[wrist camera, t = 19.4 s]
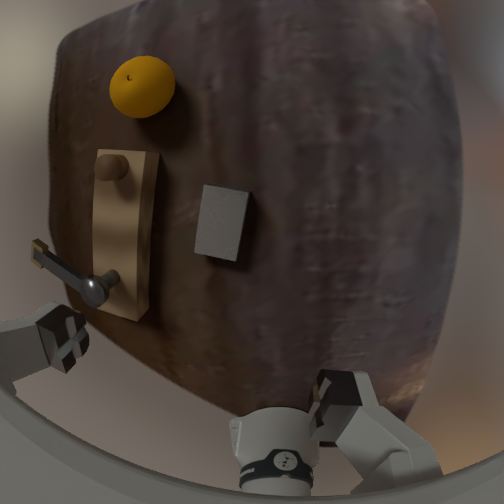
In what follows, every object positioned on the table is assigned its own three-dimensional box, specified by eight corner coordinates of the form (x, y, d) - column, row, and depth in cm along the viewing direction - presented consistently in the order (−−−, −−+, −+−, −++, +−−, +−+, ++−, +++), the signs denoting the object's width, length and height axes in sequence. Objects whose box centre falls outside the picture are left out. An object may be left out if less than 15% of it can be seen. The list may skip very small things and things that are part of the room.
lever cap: (239, 253, 34) (235, 261, 31) (201, 245, 34) (194, 252, 32) (251, 190, 32) (248, 192, 29) (210, 182, 32) (204, 184, 29)
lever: (111, 283, 28) (105, 289, 26) (107, 307, 29) (100, 313, 27) (38, 236, 27) (31, 239, 26) (36, 259, 28) (29, 262, 27)
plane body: (148, 308, 38) (125, 336, 30) (110, 296, 38) (83, 320, 30) (159, 153, 31) (129, 150, 24) (115, 150, 31) (79, 149, 24)
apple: (118, 94, 29) (86, 83, 22) (162, 55, 27) (137, 34, 20) (146, 133, 30) (115, 127, 23) (194, 93, 28) (172, 75, 21)
